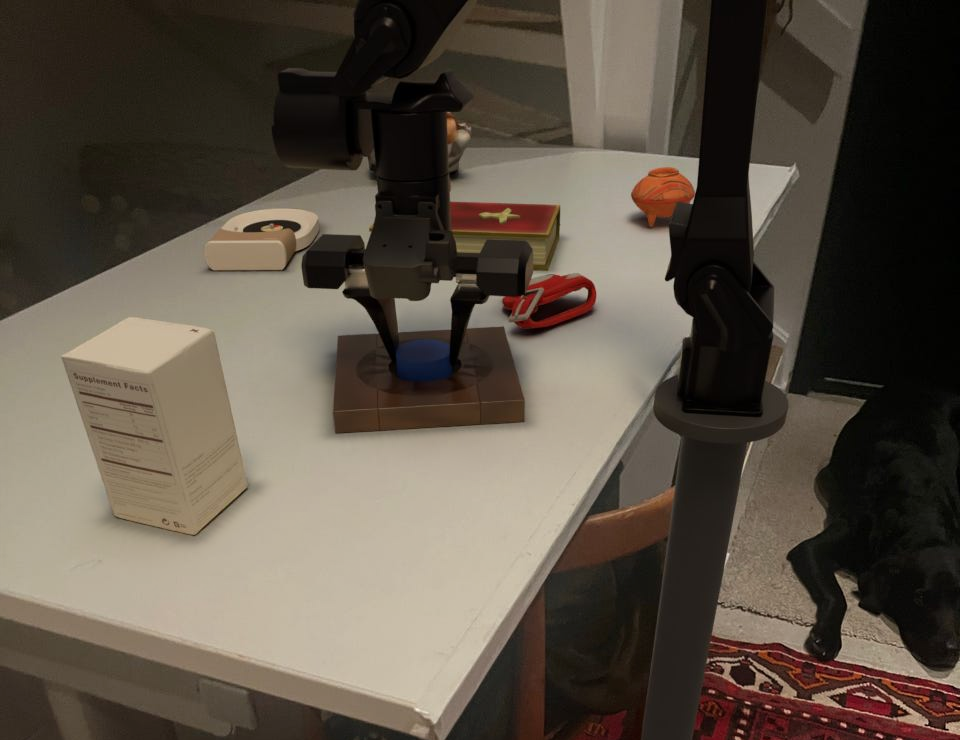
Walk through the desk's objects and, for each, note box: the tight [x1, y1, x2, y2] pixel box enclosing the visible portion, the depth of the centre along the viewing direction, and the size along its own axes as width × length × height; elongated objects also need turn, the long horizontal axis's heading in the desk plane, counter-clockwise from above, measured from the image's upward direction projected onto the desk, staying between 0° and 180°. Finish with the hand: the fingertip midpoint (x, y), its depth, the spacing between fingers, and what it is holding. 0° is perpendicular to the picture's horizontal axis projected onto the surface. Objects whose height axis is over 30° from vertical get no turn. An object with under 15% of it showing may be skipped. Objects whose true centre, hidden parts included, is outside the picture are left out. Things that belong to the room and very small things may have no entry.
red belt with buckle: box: [501, 272, 597, 330], centre depth 95 cm, size 12×4×10 cm
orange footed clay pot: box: [630, 166, 696, 228], centre depth 118 cm, size 8×8×7 cm
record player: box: [204, 208, 320, 271], centre depth 115 cm, size 12×3×20 cm
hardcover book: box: [368, 201, 561, 271], centre depth 112 cm, size 12×21×4 cm, turn 80°
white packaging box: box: [60, 316, 249, 536], centre depth 66 cm, size 7×7×13 cm
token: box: [396, 339, 453, 382], centre depth 83 cm, size 5×5×2 cm
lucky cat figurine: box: [367, 112, 472, 174], centre depth 134 cm, size 15×12×14 cm
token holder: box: [332, 326, 526, 434], centre depth 84 cm, size 16×16×2 cm
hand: (424, 362), depth 83 cm, fingers closed on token, 5 cm apart
